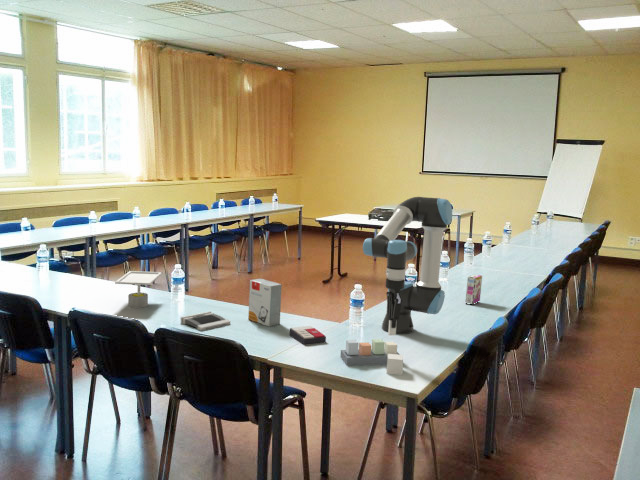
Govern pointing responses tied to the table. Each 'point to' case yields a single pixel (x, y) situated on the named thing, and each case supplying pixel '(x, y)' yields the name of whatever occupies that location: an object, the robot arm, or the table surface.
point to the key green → (378, 346)
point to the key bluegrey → (351, 347)
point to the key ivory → (390, 348)
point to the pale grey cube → (394, 364)
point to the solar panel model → (138, 279)
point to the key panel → (364, 358)
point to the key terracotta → (364, 349)
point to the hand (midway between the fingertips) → (391, 334)
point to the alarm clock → (205, 321)
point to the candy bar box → (473, 289)
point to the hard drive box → (264, 302)
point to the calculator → (307, 335)
